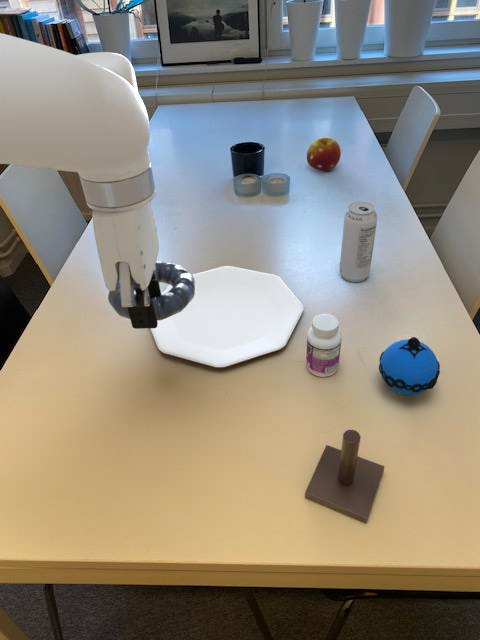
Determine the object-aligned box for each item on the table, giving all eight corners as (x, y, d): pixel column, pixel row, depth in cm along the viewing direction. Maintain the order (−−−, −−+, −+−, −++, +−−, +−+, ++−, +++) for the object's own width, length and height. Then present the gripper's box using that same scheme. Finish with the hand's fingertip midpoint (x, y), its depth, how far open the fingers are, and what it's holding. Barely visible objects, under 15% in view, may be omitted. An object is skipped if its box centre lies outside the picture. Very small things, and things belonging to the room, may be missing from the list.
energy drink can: (353, 263, 102) (361, 196, 93) (375, 276, 99) (385, 208, 89) (332, 274, 100) (338, 206, 90) (354, 287, 96) (362, 218, 86)
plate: (173, 389, 78) (172, 383, 77) (136, 295, 98) (134, 289, 97) (326, 339, 85) (326, 333, 84) (262, 261, 105) (262, 255, 104)
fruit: (316, 177, 136) (318, 148, 131) (300, 166, 142) (300, 138, 137) (346, 169, 139) (348, 141, 133) (328, 159, 145) (330, 131, 140)
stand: (366, 523, 60) (376, 476, 53) (304, 497, 63) (307, 450, 56) (383, 471, 65) (394, 422, 58) (325, 449, 68) (330, 401, 61)
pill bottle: (307, 353, 83) (309, 308, 77) (339, 356, 82) (344, 311, 75) (304, 376, 79) (305, 331, 72) (337, 380, 78) (342, 334, 71)
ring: (166, 335, 62) (162, 316, 60) (94, 313, 66) (88, 295, 64) (210, 285, 69) (208, 267, 68) (143, 268, 74) (139, 251, 72)
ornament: (364, 384, 77) (371, 337, 70) (399, 359, 80) (409, 311, 74) (409, 417, 71) (422, 369, 65) (445, 388, 75) (460, 340, 69)
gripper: (103, 156, 59) (132, 280, 71) (60, 223, 46) (105, 361, 58) (164, 153, 59) (184, 279, 70) (138, 220, 46) (167, 360, 58)
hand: (148, 315), depth 64 cm, fingers closed on ring, 3 cm apart
